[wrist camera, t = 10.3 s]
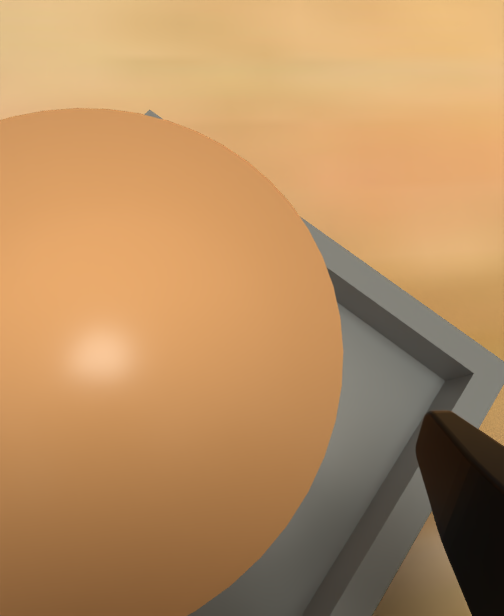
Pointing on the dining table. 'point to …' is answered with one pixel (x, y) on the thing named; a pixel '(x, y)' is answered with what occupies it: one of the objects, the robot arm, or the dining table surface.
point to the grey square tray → (367, 451)
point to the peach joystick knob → (151, 365)
